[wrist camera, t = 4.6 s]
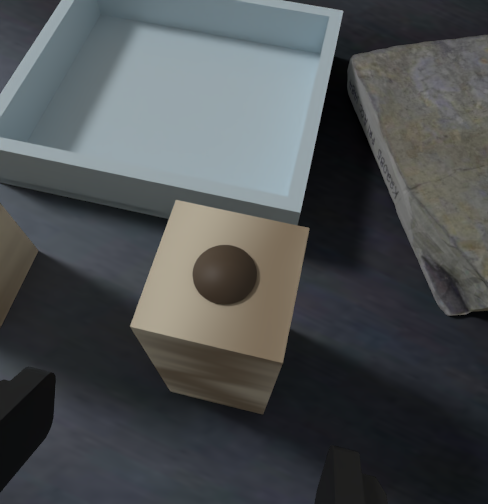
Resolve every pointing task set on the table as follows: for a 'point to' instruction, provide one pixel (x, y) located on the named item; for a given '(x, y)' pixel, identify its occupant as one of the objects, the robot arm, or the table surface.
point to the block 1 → (12, 260)
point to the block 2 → (221, 304)
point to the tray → (171, 104)
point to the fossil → (433, 155)
